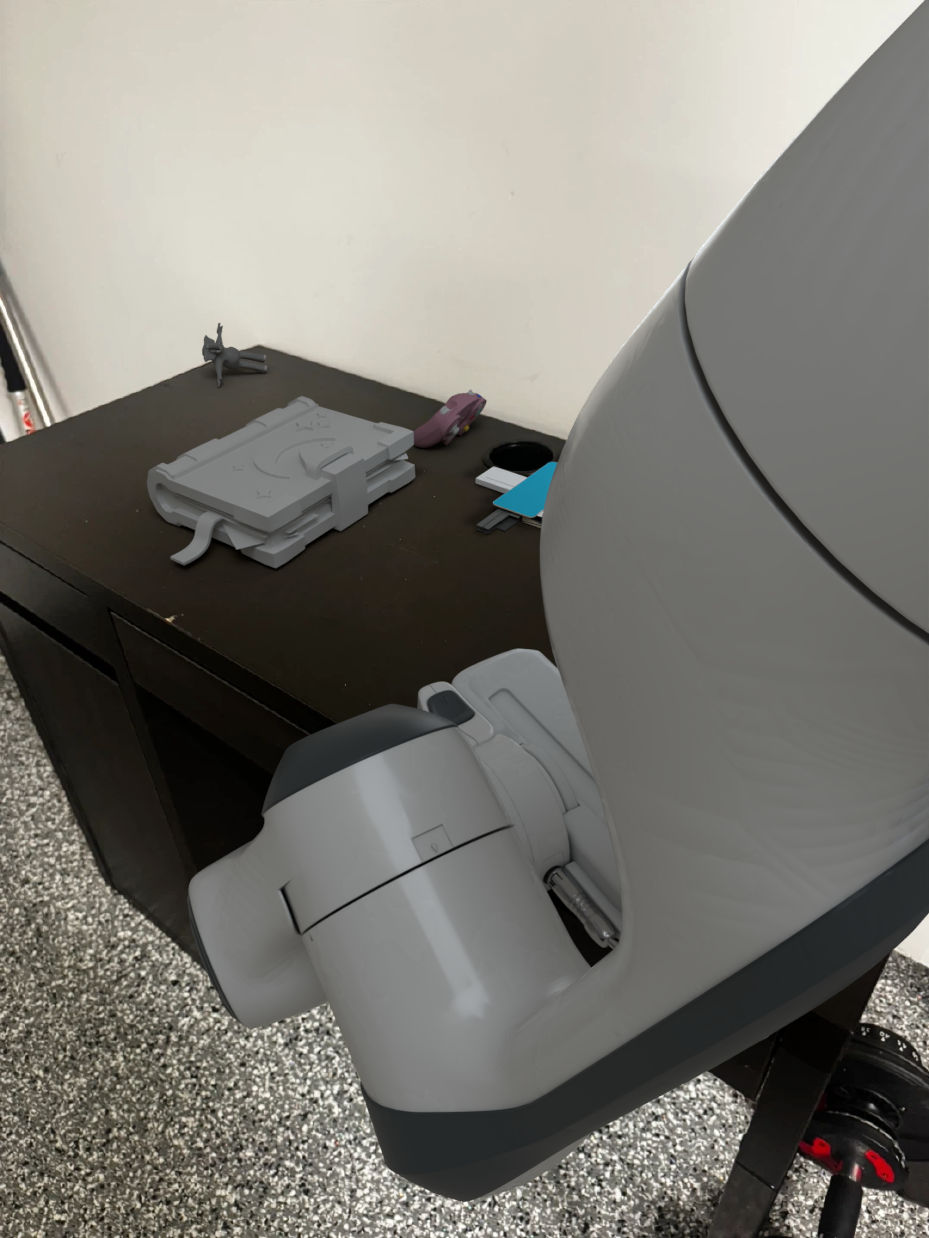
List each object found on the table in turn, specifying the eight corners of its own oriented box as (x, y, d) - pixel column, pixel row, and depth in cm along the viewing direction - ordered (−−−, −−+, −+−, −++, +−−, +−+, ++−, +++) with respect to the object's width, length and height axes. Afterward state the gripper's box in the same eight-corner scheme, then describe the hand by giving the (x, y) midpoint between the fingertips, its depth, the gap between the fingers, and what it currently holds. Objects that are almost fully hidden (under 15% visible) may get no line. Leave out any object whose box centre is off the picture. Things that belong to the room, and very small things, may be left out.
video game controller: (434, 466, 107) (456, 423, 102) (406, 442, 108) (426, 399, 103) (476, 436, 114) (498, 394, 109) (449, 414, 114) (470, 372, 109)
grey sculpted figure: (272, 387, 123) (206, 373, 119) (259, 406, 128) (195, 394, 124) (271, 323, 126) (207, 308, 121) (258, 344, 131) (196, 330, 126)
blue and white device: (531, 446, 108) (532, 434, 107) (618, 473, 102) (620, 460, 101) (431, 513, 95) (430, 499, 94) (524, 548, 90) (525, 534, 89)
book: (111, 539, 91) (93, 472, 86) (298, 440, 109) (291, 381, 105) (246, 600, 82) (233, 530, 78) (424, 482, 101) (423, 419, 96)
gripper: (629, 931, 39) (843, 806, 44) (406, 671, 53) (591, 601, 58) (613, 1009, 42) (812, 884, 48) (409, 747, 56) (582, 674, 62)
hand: (689, 727), depth 53 cm, fingers open, 8 cm apart
